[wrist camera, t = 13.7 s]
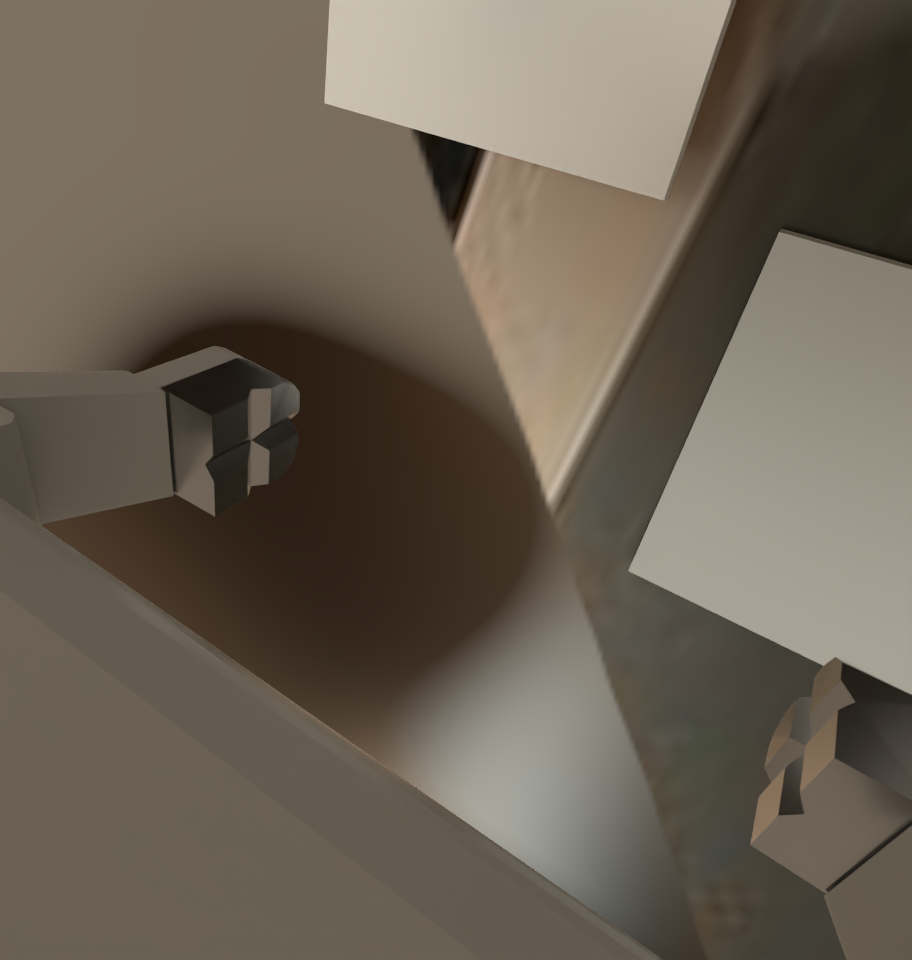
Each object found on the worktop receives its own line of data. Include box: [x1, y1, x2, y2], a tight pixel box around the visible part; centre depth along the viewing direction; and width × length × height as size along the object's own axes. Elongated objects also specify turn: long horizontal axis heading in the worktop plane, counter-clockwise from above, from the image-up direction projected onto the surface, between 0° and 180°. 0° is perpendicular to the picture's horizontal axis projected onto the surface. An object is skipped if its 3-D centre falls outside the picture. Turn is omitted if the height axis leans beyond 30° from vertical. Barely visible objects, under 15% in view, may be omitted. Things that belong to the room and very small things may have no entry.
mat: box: [629, 229, 912, 694], centre depth 31 cm, size 20×20×1 cm
